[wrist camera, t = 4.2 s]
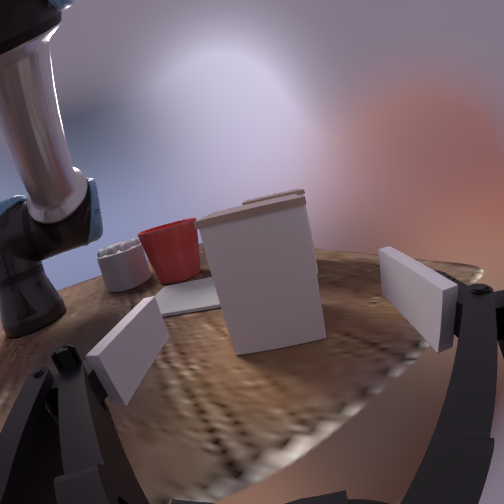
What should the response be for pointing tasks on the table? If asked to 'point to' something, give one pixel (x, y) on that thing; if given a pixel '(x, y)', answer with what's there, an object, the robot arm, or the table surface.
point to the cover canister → (264, 274)
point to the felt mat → (187, 297)
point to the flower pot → (172, 250)
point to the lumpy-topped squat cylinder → (123, 265)
